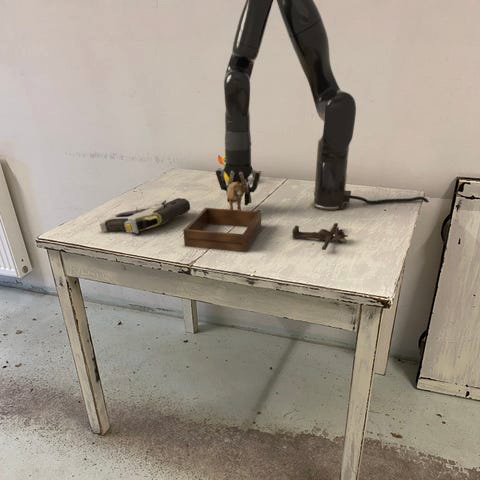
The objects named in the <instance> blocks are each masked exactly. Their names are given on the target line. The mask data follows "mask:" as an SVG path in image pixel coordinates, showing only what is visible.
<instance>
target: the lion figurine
mask: <svg viewBox="0 0 480 480" xmlns="http://www.w3.org/2000/svg"><path fill="white" fill-rule="evenodd" d="M244 194H245V190H244V187H243V185H242V183H231V184H230V185H229V187H228V189H227V192H226V199H227V198H228V199H229V202H228V205H229V209H230V210H234V204H235V205H237V206H236V210H242V207H241V204H242V199H243V197H244ZM249 204H252V194H250V203H249Z"/></svg>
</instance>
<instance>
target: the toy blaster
mask: <svg viewBox="0 0 480 480" xmlns="http://www.w3.org/2000/svg"><path fill="white" fill-rule="evenodd" d="M190 210H191V204H190V201H189V200H187V199H186V198H181V197H177V198H175V199H172V200H170V201H167V199H164V200H161V201H158V202H155V203H152V204H149V205H144V206H139V207H136V208H135V210H130V211H123V212H120V213H117V214H114V215H112V216H109V217H108V218H106V219H104V220H102V221H101V222H100V223H99V227H100V229H101V233H104V232H105V233H106V232H109V231H110V232H113V231H122V230H123V231H124V230H125V231H126V232H127V233H134V234H139V233H140V232H141V231H144V230H148V229H152V228H156V227H157V226H161V225H162V226H163V225H165V224H166V223H167V222H169V221H171V220H174V219H176V218H179V217H180V216H182V215H184V214H187V213H188V212H190Z"/></svg>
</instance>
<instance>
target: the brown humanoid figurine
mask: <svg viewBox="0 0 480 480" xmlns="http://www.w3.org/2000/svg"><path fill="white" fill-rule="evenodd" d="M332 225H333V226H332V227H331V229H330V230H328V229H325V228H321V229H319V231H317V232H316V231H300V226H299V225H294V227H293V228H292V232H291V233H292V238H293V239H294V240H296V239H304V240H308V239H312V240H313V239H317V240H319V241H324V244H323V245H322V246H321V250H322V251H325V250H327V248H328V246H329V244H330V242H332V241H333V240H335V242H336V243H338V244H342V243H345V242H347V241H348V240H347V239H346V238H348V237H349V235H348V234H345V232H344V229H340V227H339V223H338V222H334V223H333V224H332Z"/></svg>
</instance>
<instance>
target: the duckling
mask: <svg viewBox="0 0 480 480" xmlns="http://www.w3.org/2000/svg"><path fill="white" fill-rule="evenodd" d="M217 161H218V163H219V164H220V165H223V168H224V167H225V165H226V163H225V154H224V155H223V156H222V157H221V155H217ZM224 178H225V181H226V183H228V181H229V177H228V176H227V174H226V173H225V175H224ZM234 183H237V184H239V182H234Z"/></svg>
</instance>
